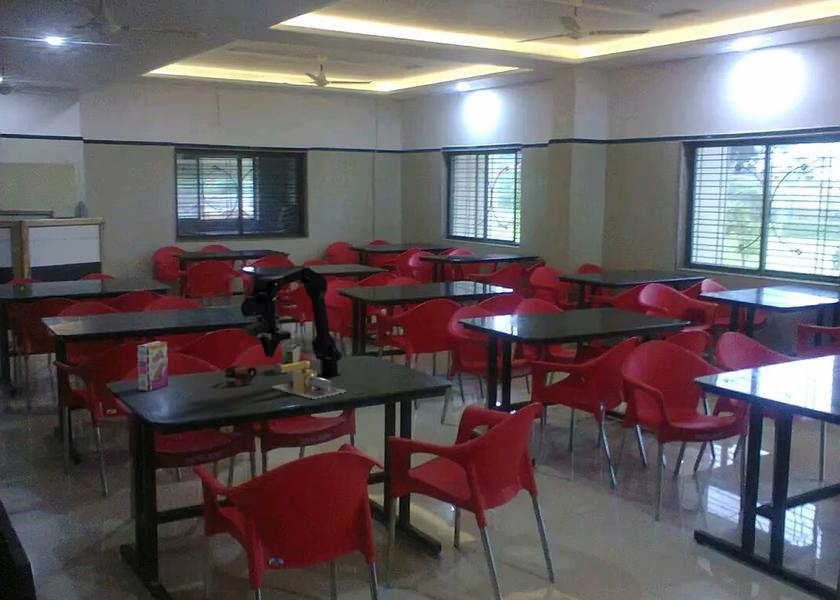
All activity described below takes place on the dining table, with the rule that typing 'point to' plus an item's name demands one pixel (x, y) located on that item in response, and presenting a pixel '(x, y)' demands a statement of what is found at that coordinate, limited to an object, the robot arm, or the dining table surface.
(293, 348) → the food container
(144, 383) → the candy bar box
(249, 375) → the pottery mug
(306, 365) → the lever
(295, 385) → the valve pipe
